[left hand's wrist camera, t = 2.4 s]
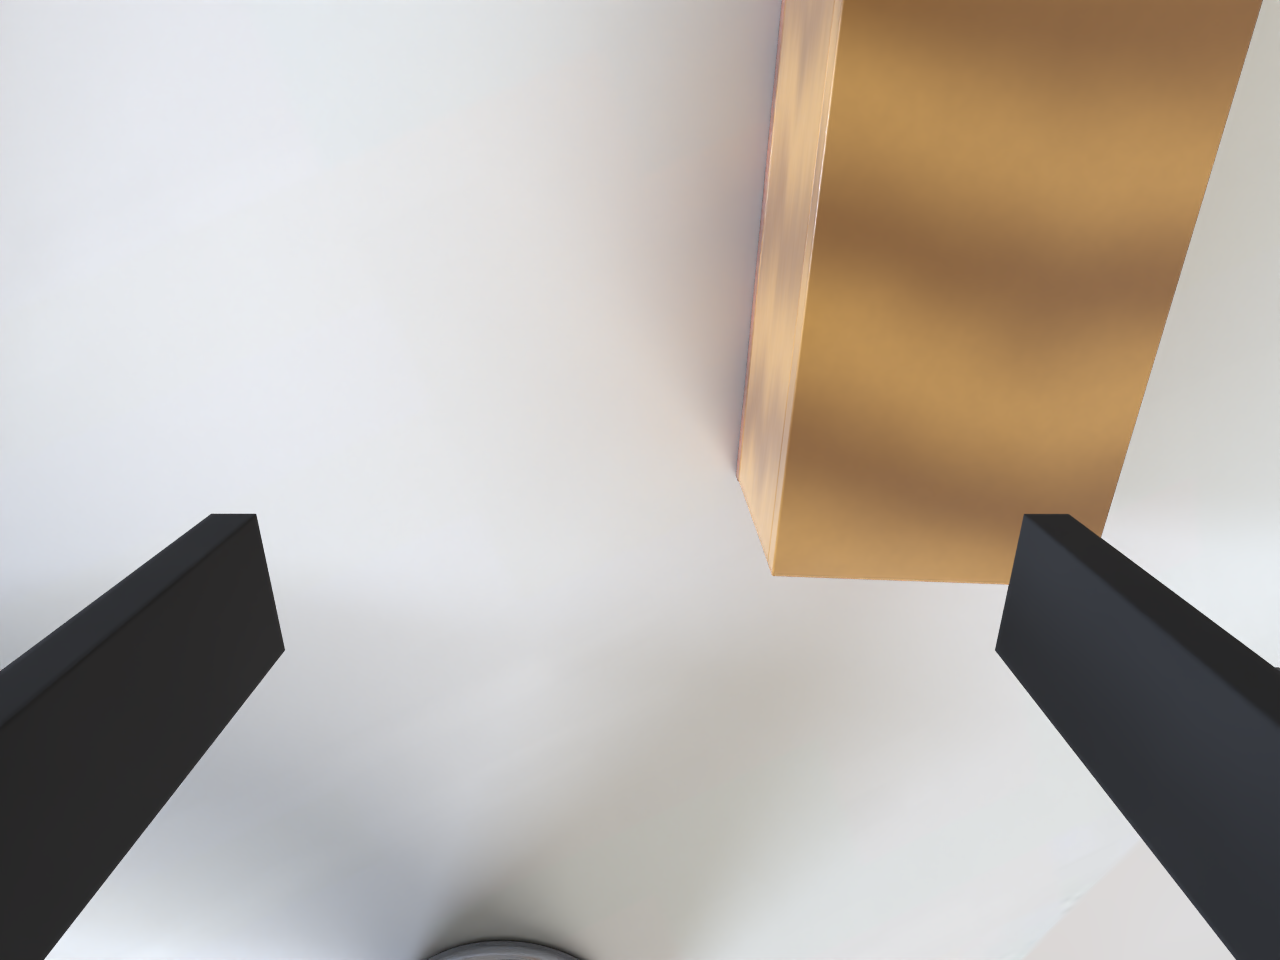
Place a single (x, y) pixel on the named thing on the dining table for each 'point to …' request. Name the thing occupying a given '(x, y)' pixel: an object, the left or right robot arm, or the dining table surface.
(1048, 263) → the cabinet
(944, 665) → the dining table surface
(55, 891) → the left robot arm
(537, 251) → the dining table surface
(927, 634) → the dining table surface
